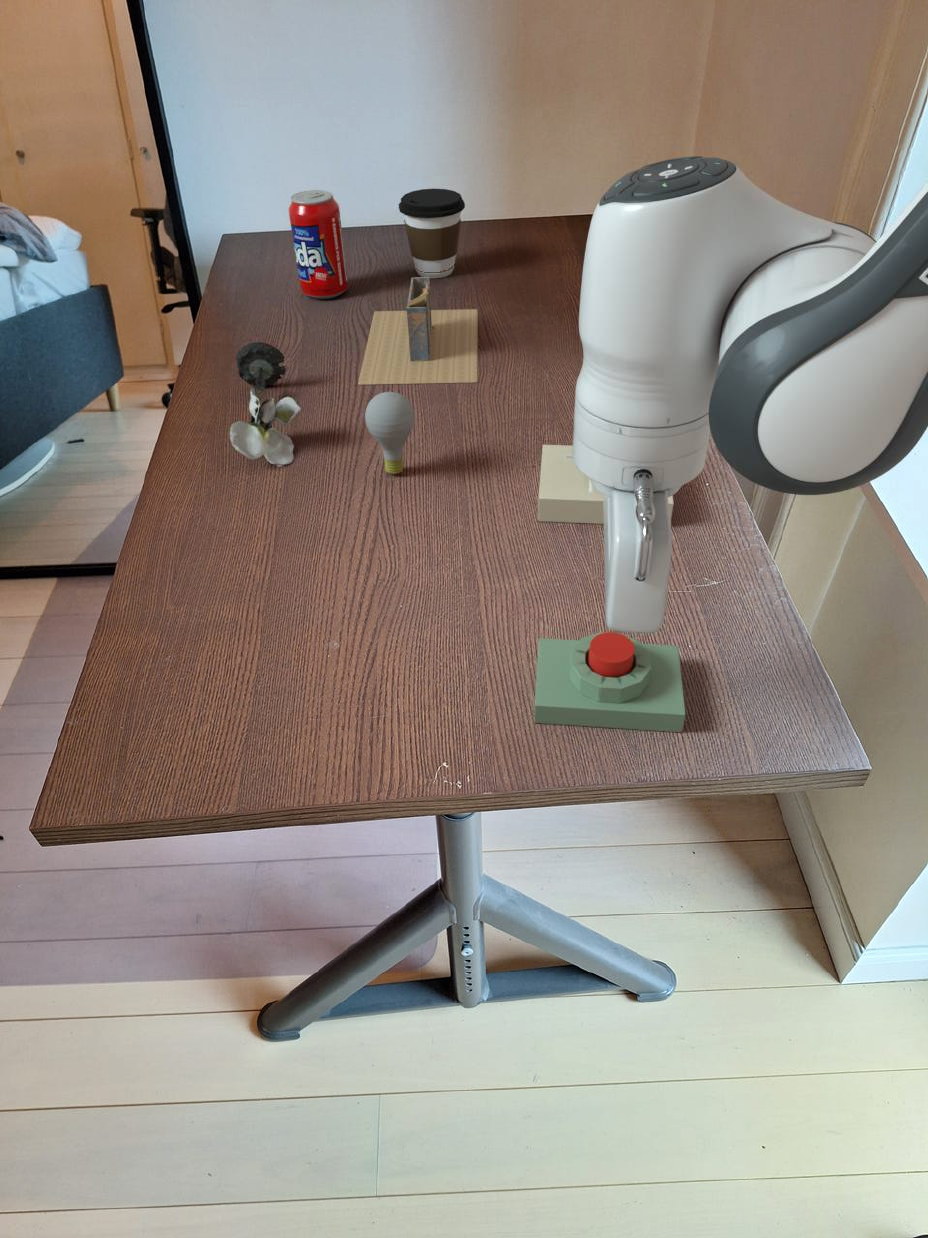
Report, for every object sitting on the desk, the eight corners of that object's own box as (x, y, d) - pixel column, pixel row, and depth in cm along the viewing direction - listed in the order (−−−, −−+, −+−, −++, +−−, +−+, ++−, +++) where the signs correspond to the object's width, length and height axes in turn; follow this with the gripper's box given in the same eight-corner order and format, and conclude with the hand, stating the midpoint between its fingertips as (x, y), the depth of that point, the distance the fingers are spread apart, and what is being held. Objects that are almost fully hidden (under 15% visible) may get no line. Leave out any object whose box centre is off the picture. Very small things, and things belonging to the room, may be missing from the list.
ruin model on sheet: (477, 382, 116) (476, 311, 109) (357, 384, 116) (349, 314, 110) (477, 309, 134) (476, 245, 128) (374, 311, 135) (368, 247, 128)
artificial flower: (300, 389, 118) (309, 324, 111) (290, 494, 104) (299, 428, 96) (234, 377, 116) (239, 310, 109) (214, 483, 101) (218, 414, 94)
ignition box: (674, 663, 75) (681, 630, 72) (681, 732, 69) (689, 699, 66) (538, 655, 76) (539, 622, 73) (534, 723, 70) (535, 690, 68)
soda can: (358, 291, 141) (347, 194, 131) (321, 305, 137) (306, 206, 127) (329, 280, 145) (317, 184, 135) (292, 293, 141) (276, 196, 131)
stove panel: (662, 462, 99) (666, 438, 97) (670, 527, 90) (674, 502, 88) (542, 458, 101) (543, 434, 99) (537, 521, 91) (538, 496, 89)
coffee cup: (431, 288, 141) (427, 211, 133) (390, 271, 147) (384, 197, 139) (479, 271, 146) (478, 196, 138) (438, 255, 152) (435, 183, 144)
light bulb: (423, 481, 98) (417, 401, 91) (377, 489, 97) (368, 409, 90) (412, 457, 102) (406, 379, 95) (367, 465, 101) (358, 387, 94)
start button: (631, 648, 71) (633, 633, 70) (633, 679, 69) (635, 664, 67) (588, 646, 72) (589, 630, 70) (588, 676, 69) (589, 661, 68)
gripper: (705, 528, 48) (674, 695, 57) (677, 366, 63) (657, 519, 72) (592, 525, 49) (580, 691, 58) (592, 365, 64) (582, 517, 73)
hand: (623, 594), depth 65 cm, fingers closed
